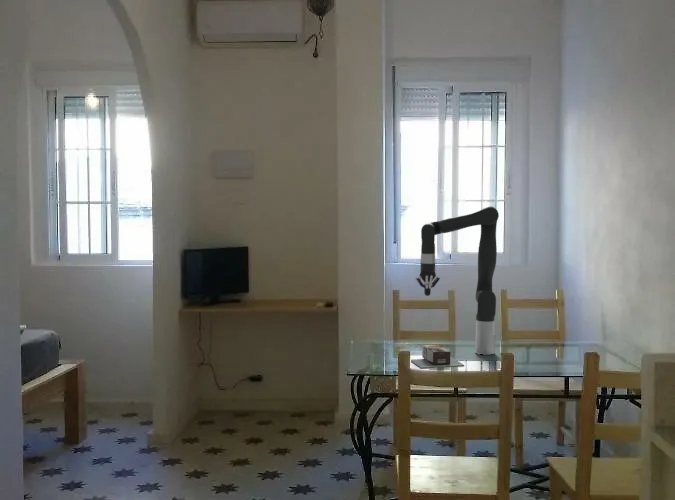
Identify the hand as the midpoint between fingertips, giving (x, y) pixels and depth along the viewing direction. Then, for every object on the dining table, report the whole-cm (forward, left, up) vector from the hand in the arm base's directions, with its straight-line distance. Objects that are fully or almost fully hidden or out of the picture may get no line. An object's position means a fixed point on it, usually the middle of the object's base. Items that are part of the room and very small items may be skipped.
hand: (427, 295), depth 399 cm
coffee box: (+4, +17, -25) cm, 31 cm away
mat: (+5, +27, -29) cm, 40 cm away
